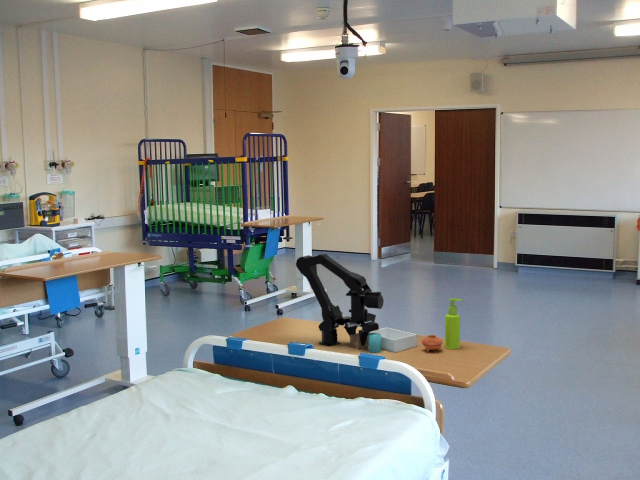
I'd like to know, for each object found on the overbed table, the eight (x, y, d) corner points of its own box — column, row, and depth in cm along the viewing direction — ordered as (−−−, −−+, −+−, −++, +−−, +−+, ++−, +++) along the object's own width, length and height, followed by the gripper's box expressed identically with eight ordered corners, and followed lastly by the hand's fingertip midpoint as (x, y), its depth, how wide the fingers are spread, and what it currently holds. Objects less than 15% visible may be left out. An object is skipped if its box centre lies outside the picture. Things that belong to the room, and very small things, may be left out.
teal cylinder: (366, 351, 258) (365, 334, 257) (375, 349, 261) (374, 332, 260) (374, 353, 254) (374, 336, 253) (383, 351, 257) (383, 334, 256)
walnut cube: (349, 346, 265) (349, 335, 265) (358, 344, 268) (358, 332, 268) (358, 349, 261) (358, 337, 261) (367, 347, 264) (367, 335, 264)
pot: (443, 347, 260) (443, 332, 258) (440, 357, 253) (440, 341, 251) (423, 345, 262) (423, 330, 260) (420, 355, 256) (420, 339, 253)
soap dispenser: (462, 349, 257) (462, 300, 255) (445, 348, 259) (445, 299, 257) (462, 345, 263) (462, 297, 261) (445, 345, 264) (445, 297, 262)
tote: (364, 344, 268) (364, 332, 268) (386, 338, 277) (386, 327, 276) (394, 352, 255) (394, 340, 255) (417, 346, 264) (416, 334, 263)
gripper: (388, 307, 261) (388, 345, 263) (356, 301, 275) (357, 337, 277) (368, 311, 254) (369, 350, 255) (337, 304, 268) (337, 341, 270)
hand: (358, 344), depth 265 cm, fingers closed on walnut cube, 5 cm apart
